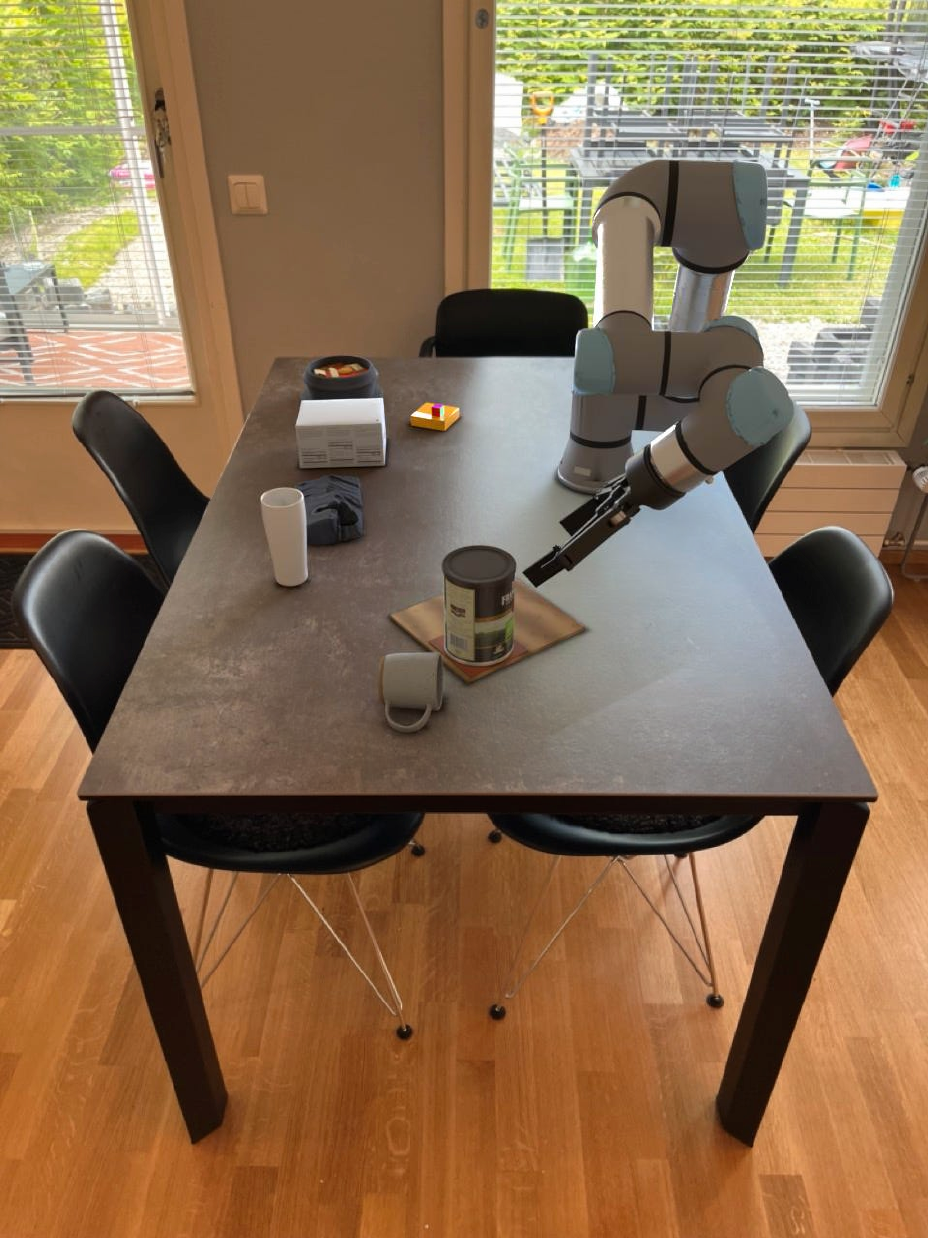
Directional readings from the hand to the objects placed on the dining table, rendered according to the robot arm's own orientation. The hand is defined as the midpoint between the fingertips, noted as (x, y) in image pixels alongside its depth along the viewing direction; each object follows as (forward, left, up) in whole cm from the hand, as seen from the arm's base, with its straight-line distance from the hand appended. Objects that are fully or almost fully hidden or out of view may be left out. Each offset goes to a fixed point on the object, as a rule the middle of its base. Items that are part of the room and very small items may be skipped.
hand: (548, 552), depth 129 cm
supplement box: (-12, -78, -19) cm, 81 cm away
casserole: (-26, -102, -19) cm, 107 cm away
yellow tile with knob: (-36, -81, -19) cm, 90 cm away
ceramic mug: (+21, -3, -19) cm, 28 cm away
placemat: (+1, -13, -18) cm, 22 cm away
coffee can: (+6, -8, -18) cm, 20 cm away
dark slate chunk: (+4, -58, -19) cm, 61 cm away
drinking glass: (+19, -42, -19) cm, 49 cm away
